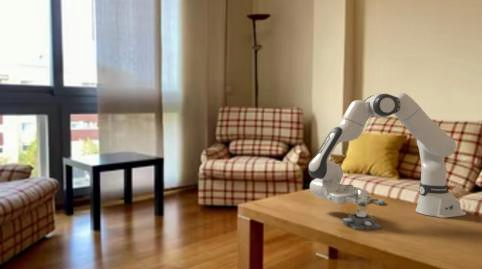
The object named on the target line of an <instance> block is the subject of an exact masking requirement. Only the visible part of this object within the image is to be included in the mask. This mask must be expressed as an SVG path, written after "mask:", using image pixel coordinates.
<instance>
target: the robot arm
mask: <svg viewBox="0 0 482 269" xmlns="http://www.w3.org/2000/svg"><path fill="white" fill-rule="evenodd" d="M392 115H394V116H395V117H396V118H397V119H398V121H399V122H401V124H402V125H403V126H404V128H405V129H406V130H407V132H408V133H409V134H410V135H412V136H413V137H415V138H416V145H417V147H418V151H419V158H420V164H421V167H420V168H421V171H420V173H421V174H420V182H419V190H418V191H419V197H418V202H417V206H416V208H415V212H417V213H418V214H421V215H425V216H431V217H438V218H441V219H442V218H445V219H447V218H454V217H462V216H466V215H467V213H466V211H464V210H463V209H462V206H461V202H460V200H459V199H457V197H455V195H453V194H451V193H450V191H453V190H454V186H453V185H448V184H447V174H448V173H447V172H448V171H447V170H448V169H447V166H446V163H445V160H444V158H446V157H450V156H452V155H454V153H455V152H456V150H457V142H456V141H455V139H453V137H452V136H450V135H449V134H447V133H446V131H444V129H442V128H441V127H440V126H439V125H438V124H437V123H436V122H434V121H433V120H432V119H431V118H430V116H429V115H428V114H427V113H426V112H425V111H424V110H423V109H422V107H421V106H420V105H419V104H418V103H417V102H416V101H415V100H414V98H412V97H411V96H410V95H408V93H406V92H399V93H397V94H394V95H392V94H390V93H376V94H373V95H370V96H368V97H366V99H365V100H361V99H356V100H353V101H352V102H351V103H350V104H349V105H348V107H347V108H346V111H345V112H344V114H343V116H342V118H341V120H340V121H339V123H338V125H337V126H336V127H333V128H332V129H331V130H330V131H329V133H328V135H327V136H326V137H325V139H324V141H323V143H322V144H321V146H320V147H319V149H318V151H317V152H316V154H315V155H314V156H313V157H312V158H311V159H310V161H309V163H308V166H307V168H308V169H307V170H308V174H309V176H310V177H311V178H313V180H311V182H310V183H309V190H310V192H311V194H312V195H313V196H315V197H317V198H320V199H322V200H328V201H330V202H331V203H333V204H337V205H344V204H349V203H350V204H357V200H358V190H360V189H362V190H365V189H364V188H361V187H357V186H354V185H353V184H342V183H341V182H342V179H343V174H344V170H343V167H342V166H341V165H340V164H337V163H336V162H332V161H330V160H329V159H330V157H331V156H332V154H333V152H334V151H335V149H336V147H337V146H338V145H339V144H340V143H344V142H351V141H355V140H358V139H359V137H360V136H361V135H362V133H363V131H364V129H365V127H366V124H367V122H368V121H369V119H370V118H371V117H373V118H383V117H384V118H385V117H386V118H387V117H390V116H392ZM371 199H372V196H371V195H369V192H368V193H367V200H371Z"/></svg>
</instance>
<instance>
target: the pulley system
mask: <svg viewBox="0 0 482 269" xmlns="http://www.w3.org/2000/svg"><path fill="white" fill-rule="evenodd" d="M369 203H374V204H377V205H379V206H382V205H384V204H385V199H382V198H379V199H377V198H375V199H374V198H371V200H367V204H369Z"/></svg>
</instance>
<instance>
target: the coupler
mask: <svg viewBox="0 0 482 269" xmlns="http://www.w3.org/2000/svg"><path fill="white" fill-rule="evenodd" d="M362 189H363V188H361V189H360V190H358V200H357V203H356V214H357V218H358V219H363V218H366V214H367V211H368V210H367V209H368V208H367V206H368V203H367V193H368V194H369V191H368V190H367V189H364V190H362Z"/></svg>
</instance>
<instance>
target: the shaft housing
mask: <svg viewBox="0 0 482 269" xmlns="http://www.w3.org/2000/svg"><path fill="white" fill-rule="evenodd" d="M347 215H348V216H347V217H343V218H341V221H342V222H343V225H344V226H346V227H351V228H352V229H353V230H365V231H369V230H370V231H373V230H375V229H382V225H381V224H379V223H378V222H376V218H374V217H373V216H371V215H370V214H367V213H366V218H363V219H358V218H357V213H348V214H347Z"/></svg>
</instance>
